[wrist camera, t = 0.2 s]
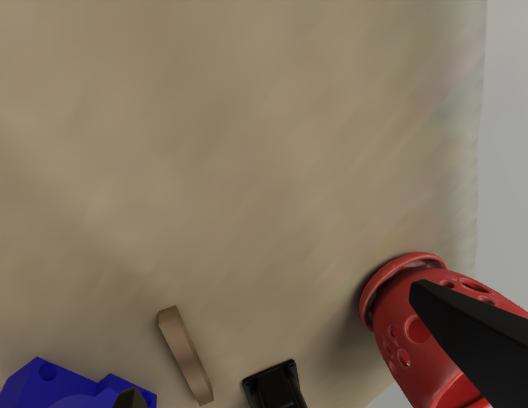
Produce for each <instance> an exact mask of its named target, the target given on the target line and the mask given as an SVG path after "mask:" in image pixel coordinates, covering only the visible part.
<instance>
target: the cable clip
mask: <svg viewBox="0 0 528 408" xmlns="http://www.w3.org/2000/svg"><path fill="white" fill-rule="evenodd" d="M132 387H136V388H138V390H139V391H140V393H141V395H142V396H143V398H144V400H145V401H146V404H147V408H156V402H157V395H156V394H154V393H151V392H149V391H147V390H145V389H143V388H141V387H139V386H136V385H134V384H132V383H130V382H128V381H126V380H124V379H122V378H119V377H117V376H115V375H113V374H111V373H110V374H109V375H108V376H106V377H105V378H104V379H102V380H101V381H99V382H98V383H97V382H94V381H92V380H90V379H87V378H85V377H83V376H80V375H78V374H76V373H73V372H71V371H69V370H67V369H64V368H62V367H60V366H57V365H55V364H53V363H50V362H48V361H46V360H44V359H41V358H39V357H36V358H35V359H33V360H32V361H31V362H29V363H28V364H27V365H25V366H24V367H23V368H21V369H20V370H19V371H17V372H16V373H15V374H13V375H12V376H11V377H9V378H8V379H7V381H6V383H5V385H4V387H3V389H2V391H1V393H0V408H112V406H113V404H114V402H115V400H116V398H117V397H118V395H119V394H120V393H121V392H122V391H124V390H127V389H130V388H132Z"/></svg>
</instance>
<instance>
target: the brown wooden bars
mask: <svg viewBox="0 0 528 408" xmlns="http://www.w3.org/2000/svg"><path fill="white" fill-rule="evenodd" d="M159 327H160V329H161V331H162V333H163V335H164V337H165V339H166V341H167V343H168V345H169V347H170V349H171V351H172V353H173V355H174V357H175V359H176V360H177V362H178V364H179V366H180V368H181V370H182V372H183V374H184V376H185V378H186V380H187V382H188V384H189V386H190V388H191V390H192V392H193V394H194V396H195V398H196V400H197V402H198V404H199V406H202V405H205V404H207V403H209V402H212V401H214V398H213V392H212V386H211V384H210V382H209V379H208V377H207V375H206V373H205V370H204V368H203V366H202V364H201V361H200V359H199V357H198V354H197V352H196V350H195V348H194V345H193V343H192V341H191V339H190V336H189V334H188V332H187V330H186V327H185V325H184V323H183V321H182V318H181V316H180V314H179V311H178V309H177V307H176V306H174V307H171V308H168V309H165V310H162V311H159Z"/></svg>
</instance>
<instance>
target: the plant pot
mask: <svg viewBox="0 0 528 408" xmlns="http://www.w3.org/2000/svg"><path fill="white" fill-rule="evenodd" d="M421 278H422V279H426V280H429V281H432V282H434V283H437V284H439V285H442V286H444V287H447V288H450V289H452V290H455V291H457V292H460V293H463V294H465V295H468V296H470V297H473V298H475V299H478V300H481V301H483V302H486V303H488V304H491V305H493V306H496V307H499V308H501V309H504V310H506V311H509V312H512V313H514V314H517V315H519V316H522V317H524V318H527V319H528V312H527V311H525V310H524V309H522V308H521V307H519V306H518V305H516V304H515V303H513V302H512V301H510V300H508V299H507V298H505V297H504V296H503V295H501V294H500V293H498V292H496V291H495V290H493V289H491V288H489V287H487V286H486V285H484V284H482V283H480V282H478V281H476V280H474V279H472V278H469V277H467V276H465V275H462V274H459V273H456V272H453V271H450V270H448V268H447V266H446V264H445V262H444V261H443V260H442V259H441V258H440V257H438V256H436V255H434V254H430V253H424V252H417V253H410V254H406V255H404V256H401V257H398V258H396V259H394V260H391V261H390V262H389V263H388V264H386V265H385V266H383V267H382V268H381V269H380V270H379V271H378V272H377V273H376V274H375V275H374V276H373V277H372V278H371V279H370V281H369V282H368V283H367V285H366V287H365V288H364V290H363V292H362V295H361V298H360V302H359V315H360V319H361V322H362V324H363V325H364V326H365V328H367V329H368V330H369V331H371V332H374V334H375V338H376V342H377V345H378V347H379V350H380V352H381V355H382V357H383V359H384V361H385V362H386V364H387V366H388V368H389V370H390V372H391V374H392V376H393V378H394V379H395V380H396V382H397V383H398V385H399V386H400V388H401V389H402V391H403V393H404V394H405V396H406V397H407V398H408V401H409V402H410V403H411V405H412V406H413V408H487V407H489V406H490V405H491V404H490V403H489V402H488V401H487V400H486V399H485V398H484V396H483V395H482V394H481V393H480V392H479V391H478V390H477V388H476V387H475V386H474V385H473V384H472V383H471V381H470V380H469V379H468V378H467V377H466V376H465V375H464V373H463V372H462V371H461V370H460V369H459V368H458V366H457V365H456V364H455V363H454V362H453V361H452V360H451V358H450V357H449V356H448V355H447V354H446V353H445V351H444V350H443V349H442V348H441V347H440V345H439V344H438V343H437V341H436V340H435V339H434V337H433V336H432V335H431V333H430V332H429V330H428V329H427V328H426V326H425V325H424V324H423V322H422V321H421V319H420V318H419V317H418V315H417V314H416V312H415V311H414V310H413V308H412V307H411V305H410V303H409V300H408V296H409V289H410V284H411V282H413V281H415V280H418V279H421ZM407 363H409V364H410V366H408V365H407ZM452 384H453V385H452Z"/></svg>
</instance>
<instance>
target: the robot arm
mask: <svg viewBox="0 0 528 408" xmlns="http://www.w3.org/2000/svg"><path fill="white" fill-rule="evenodd" d="M408 300H409V303H410V305H411V307H412V308H413V310H414V311H415V312H416V314H417V315H418V317H419V318H420V319H421V321H422V322H423V324H424V325H425V326H426V328H427V329H428V330H429V332H430V333H431V335H432V336H433V337H434V339H435V340H436V341H437V343H438V344H439V345H440V347H441V348H442V349H443V350H444V351H445V353H446V354H447V355H448V356H449V357H450V358H451V360H452V361H453V362H454V363H455V364H456V365H457V366H458V368H459V369H460V370H461V371H462V372H463V373H464V375H465V376H466V377H467V378H468V379H469V380H470V381H471V383H472V384H473V385H474V386H475V387H476V388H477V390H478V391H479V392H480V393H481V394H482V395H483V396H484V398H485V399H486V400H487V401H488V402H489V403H490V404H491V406H492V407H493V408H528V319H527V318H524V317H522V316H519V315H517V314H514V313H512V312H509V311H506V310H504V309H501V308H499V307H496V306H493V305H491V304H488V303H486V302H483V301H481V300H478V299H475V298H473V297H470V296H468V295H465V294H463V293H460V292H457V291H455V290H452V289H450V288H447V287H444V286H442V285H439V284H437V283H434V282H432V281H429V280H426V279H422V278H421V279H418V280H415V281H413V282H411V284H410V289H409V296H408ZM242 383H243V387H244V390H245V393H246V396H247V399H248V402H249V405H250V407H251V408H307V405H306V403H305V400H304V398H303V396H302V393H301V391H300V385H299V379H298V373H297V368H296V363H295V361H294V360H289V361H287V362H284V363H282V364H280V365H277V366H275V367H272V368H270V369H268V370H265V371H263V372H261V373H258V374H256V375H253V376H251V377H249V378H246V379H244V380H243V382H242ZM112 408H147V404H146V401H145V400H144V398H143V396H142V395H141V393H140V391H139V390H138V388H136V387H132V388H130V389H127V390H124V391H122V392H121V393H120V394H119V395H118V397H117V398H116V400H115V402H114V404H113V406H112Z"/></svg>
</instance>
